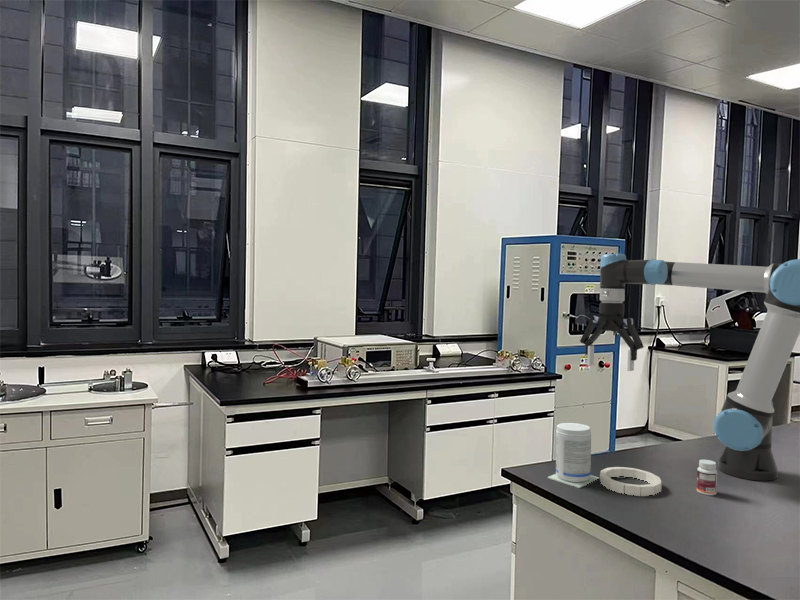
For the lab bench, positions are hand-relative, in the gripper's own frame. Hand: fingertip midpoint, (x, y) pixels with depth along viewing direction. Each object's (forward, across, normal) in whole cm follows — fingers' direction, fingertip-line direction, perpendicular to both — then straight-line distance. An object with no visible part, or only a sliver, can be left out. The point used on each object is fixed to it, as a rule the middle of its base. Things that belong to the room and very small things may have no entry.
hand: (609, 368), depth 182 cm
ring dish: (+29, +17, -20) cm, 39 cm away
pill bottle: (+29, +33, -9) cm, 45 cm away
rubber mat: (+29, +4, -28) cm, 40 cm away
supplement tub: (+28, +4, -28) cm, 40 cm away
